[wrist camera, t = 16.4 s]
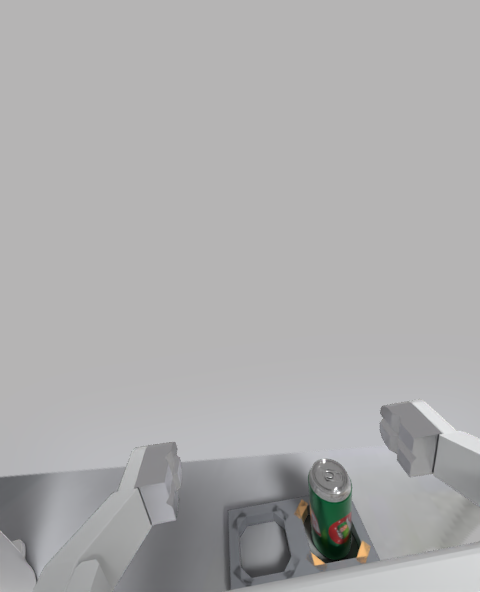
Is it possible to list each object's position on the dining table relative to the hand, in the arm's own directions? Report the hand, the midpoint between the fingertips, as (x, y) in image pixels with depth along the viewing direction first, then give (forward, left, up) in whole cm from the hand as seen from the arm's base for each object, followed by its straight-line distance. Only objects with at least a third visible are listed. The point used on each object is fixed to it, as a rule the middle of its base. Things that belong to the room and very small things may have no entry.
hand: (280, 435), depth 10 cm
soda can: (+8, +14, -35) cm, 39 cm away
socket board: (+3, +14, -35) cm, 38 cm away
